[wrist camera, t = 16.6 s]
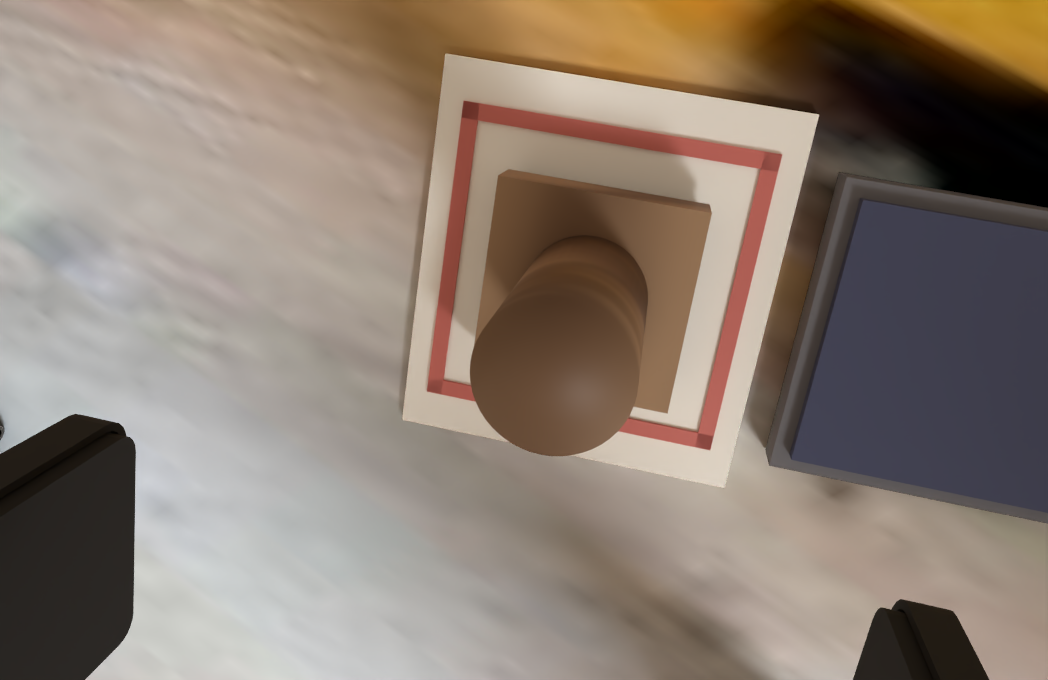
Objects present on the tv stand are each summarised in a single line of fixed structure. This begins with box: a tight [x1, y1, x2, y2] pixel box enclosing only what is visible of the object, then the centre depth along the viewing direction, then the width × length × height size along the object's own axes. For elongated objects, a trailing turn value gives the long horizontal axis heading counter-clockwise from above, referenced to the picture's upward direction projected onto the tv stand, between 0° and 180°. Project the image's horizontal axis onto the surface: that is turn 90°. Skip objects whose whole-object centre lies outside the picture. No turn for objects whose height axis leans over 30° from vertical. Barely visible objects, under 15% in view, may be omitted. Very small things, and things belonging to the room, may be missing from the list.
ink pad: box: [765, 172, 1048, 523], centre depth 26 cm, size 9×9×2 cm
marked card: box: [402, 53, 819, 488], centre depth 27 cm, size 11×12×1 cm
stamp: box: [470, 169, 712, 456], centre depth 23 cm, size 6×6×9 cm
